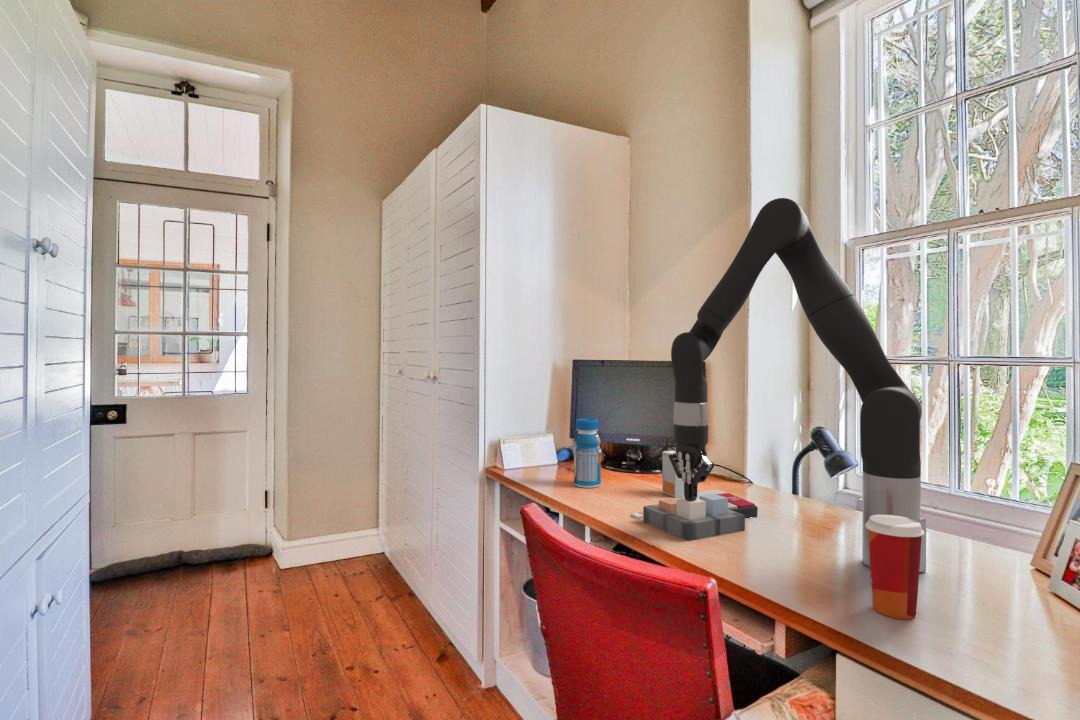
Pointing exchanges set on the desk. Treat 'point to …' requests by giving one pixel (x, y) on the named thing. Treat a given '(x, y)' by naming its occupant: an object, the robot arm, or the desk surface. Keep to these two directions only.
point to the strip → (637, 515)
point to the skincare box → (670, 477)
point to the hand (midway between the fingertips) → (690, 499)
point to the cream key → (691, 509)
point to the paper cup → (894, 564)
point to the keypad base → (694, 523)
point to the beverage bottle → (587, 454)
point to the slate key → (715, 504)
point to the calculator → (735, 503)
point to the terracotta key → (668, 505)
